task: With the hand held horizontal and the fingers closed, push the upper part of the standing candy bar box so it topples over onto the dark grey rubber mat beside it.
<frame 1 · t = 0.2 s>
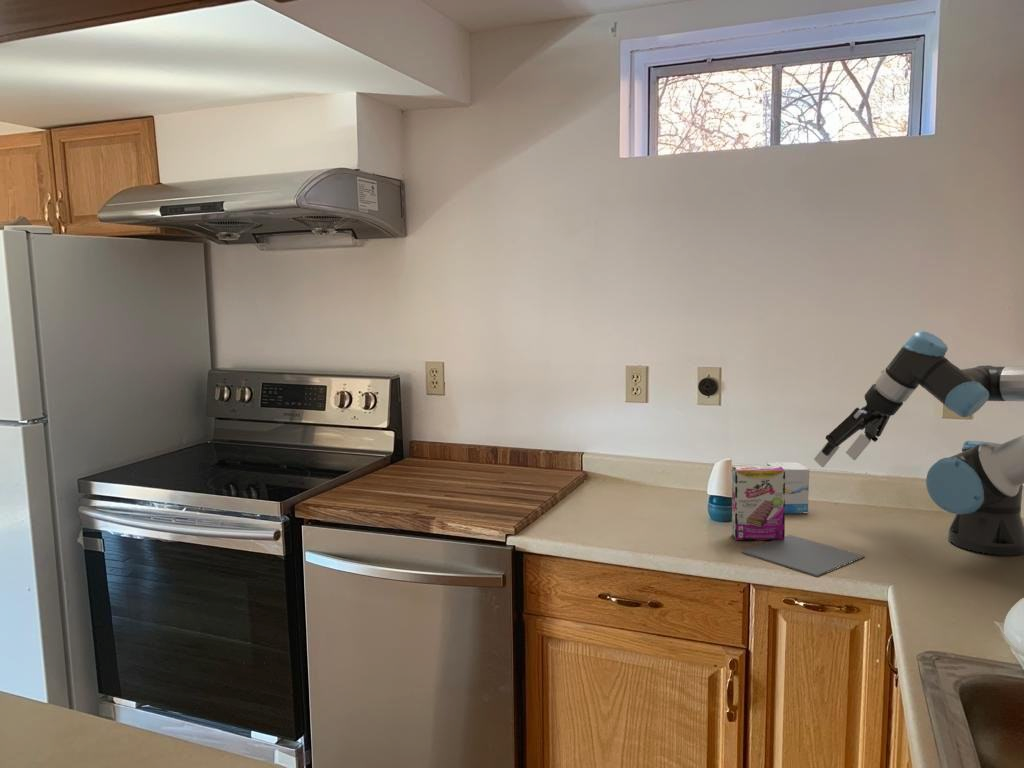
hand: (834, 459, 185), 16 cm above the countertop, tool tilted 35°, fingers open, 13 cm apart
candy bar box: (758, 538, 178), on the countertop, touching mat
mat: (802, 555, 167), on the countertop
ink box: (786, 509, 201), on the countertop
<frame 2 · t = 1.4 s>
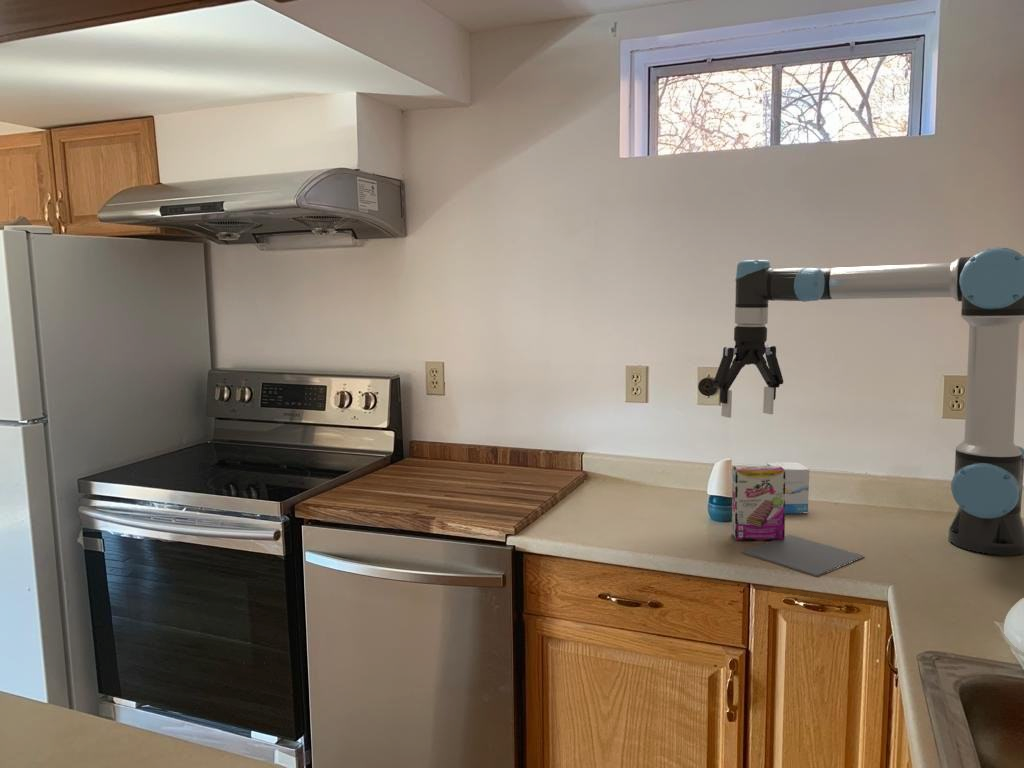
hand: (747, 415, 187), 27 cm above the countertop, tool pointing down, fingers open, 12 cm apart
nothing on the countertop moved.
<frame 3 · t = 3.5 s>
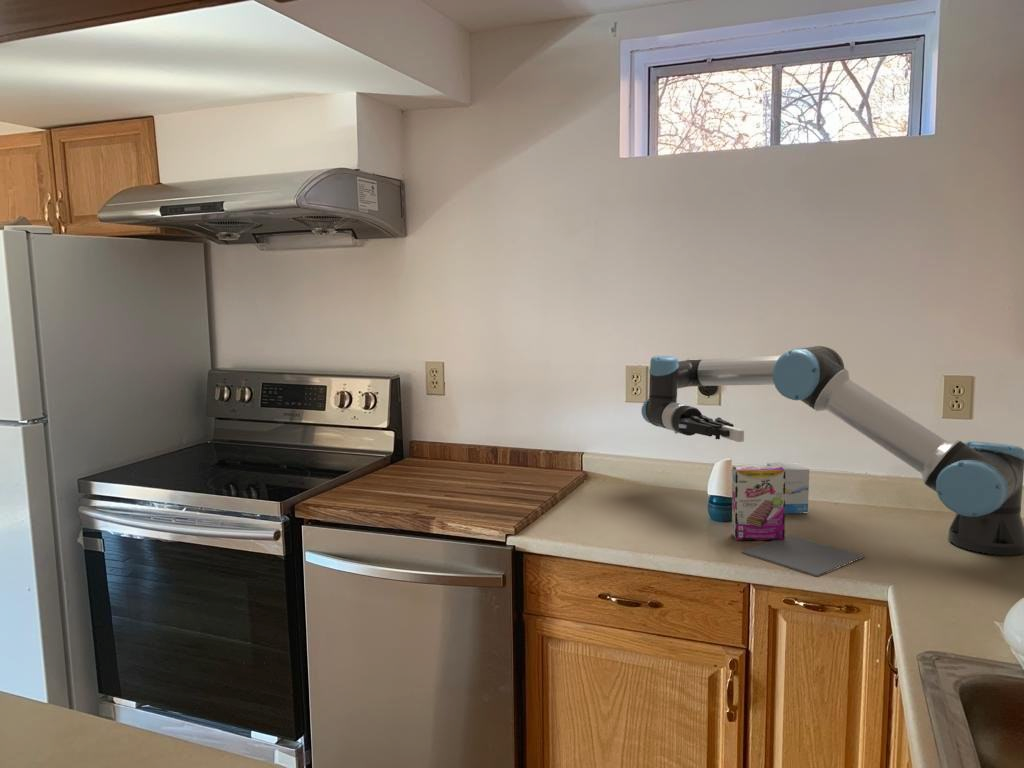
hand: (741, 436, 182), 23 cm above the countertop, tool horizontal, fingers closed
nothing on the countertop moved.
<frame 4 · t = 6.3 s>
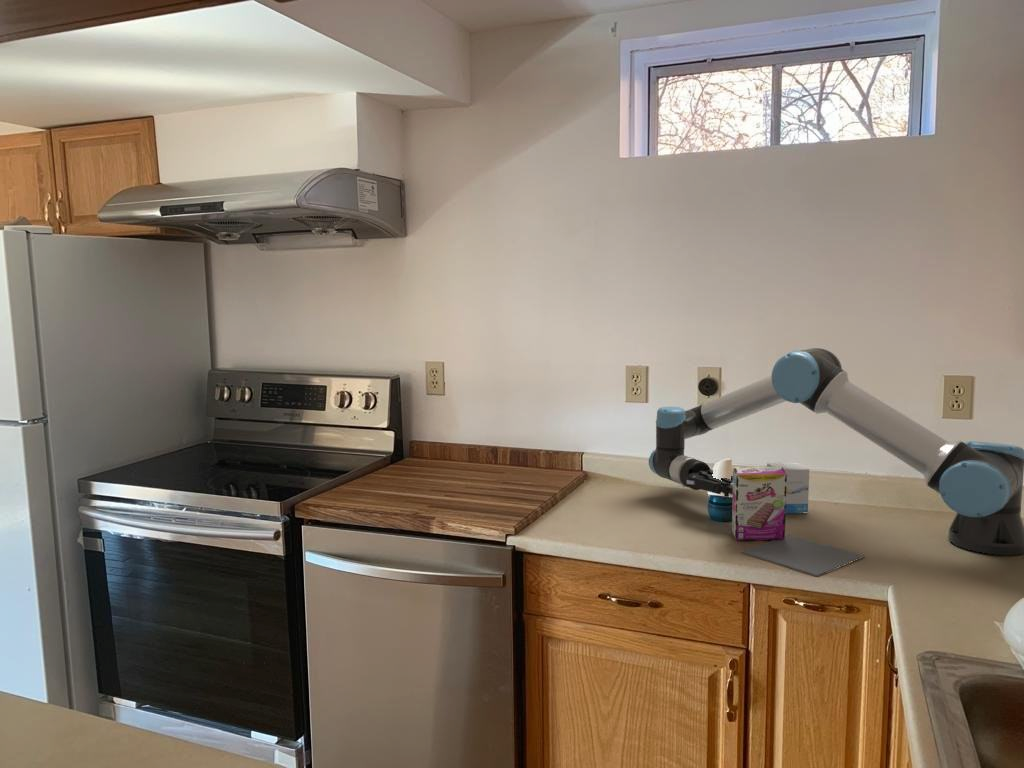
hand: (750, 494, 179), 10 cm above the countertop, tool horizontal, fingers closed
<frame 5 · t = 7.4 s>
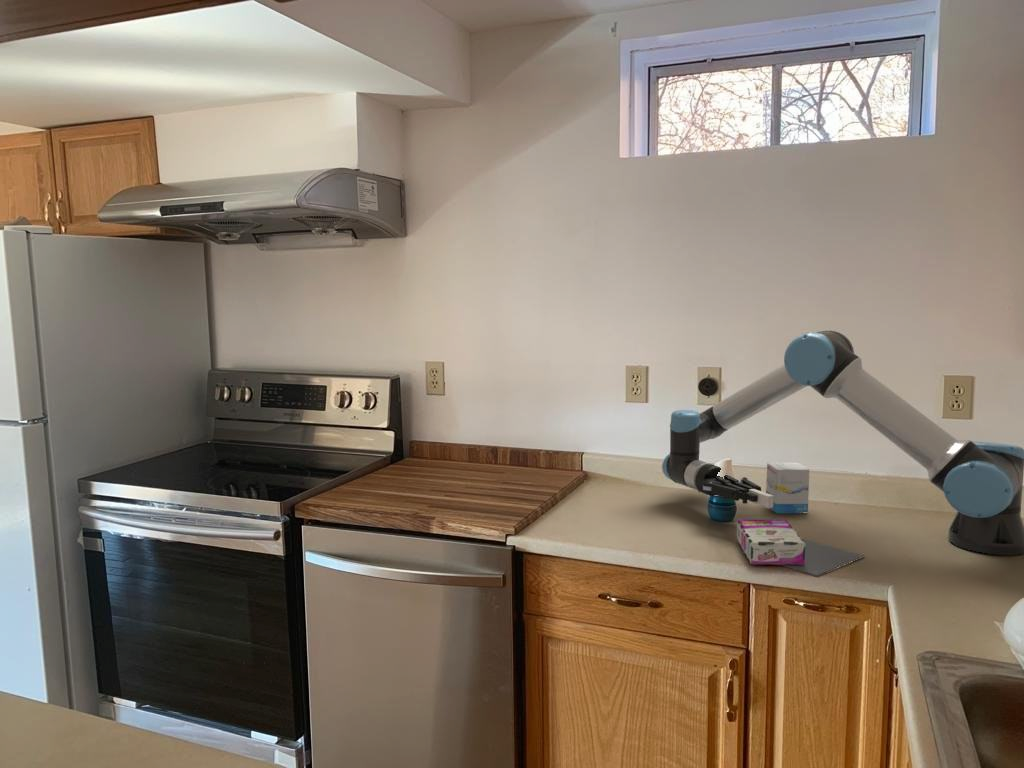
hand: (770, 501, 173), 10 cm above the countertop, tool horizontal, fingers closed
candy bar box: (761, 529, 175), point 3 cm above the countertop, touching mat
everything else where it was.
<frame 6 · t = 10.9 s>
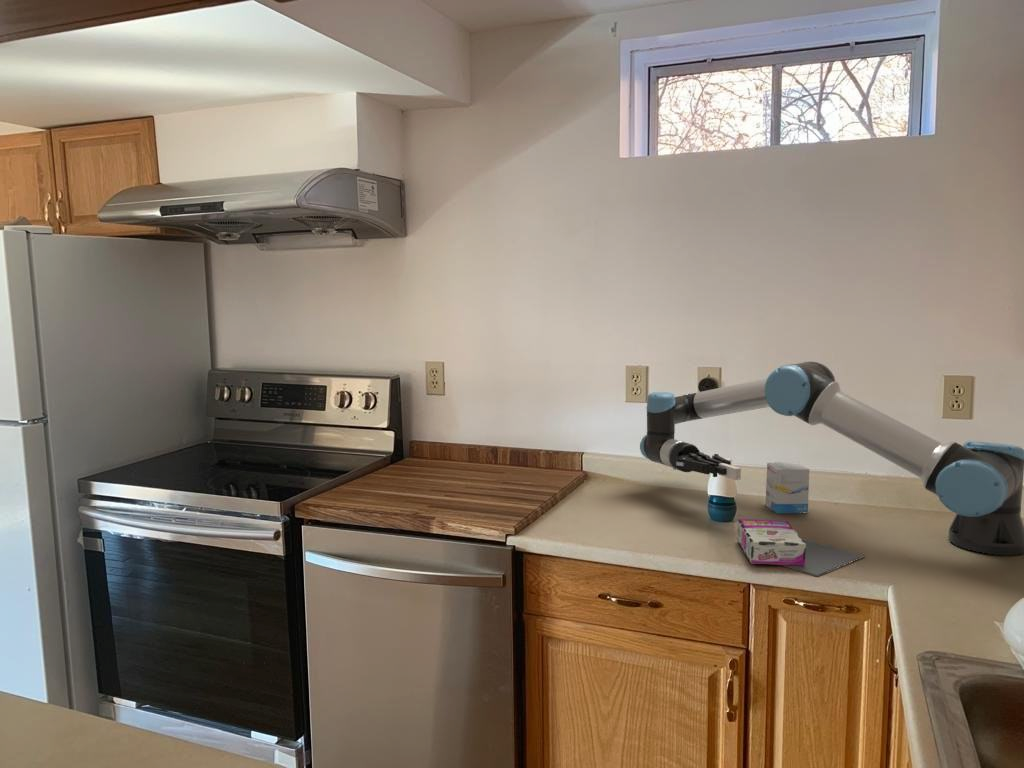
hand: (738, 474, 183), 13 cm above the countertop, tool horizontal, fingers closed
nothing on the countertop moved.
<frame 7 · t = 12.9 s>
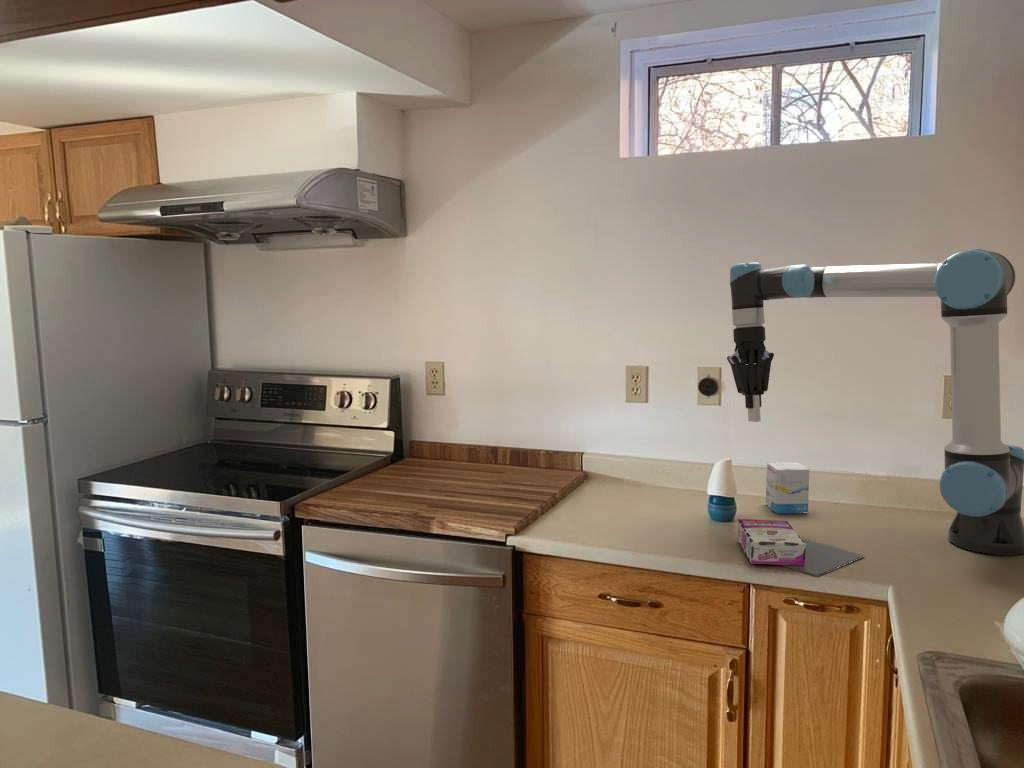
hand: (754, 421, 192), 24 cm above the countertop, tool pointing down, fingers closed
nothing on the countertop moved.
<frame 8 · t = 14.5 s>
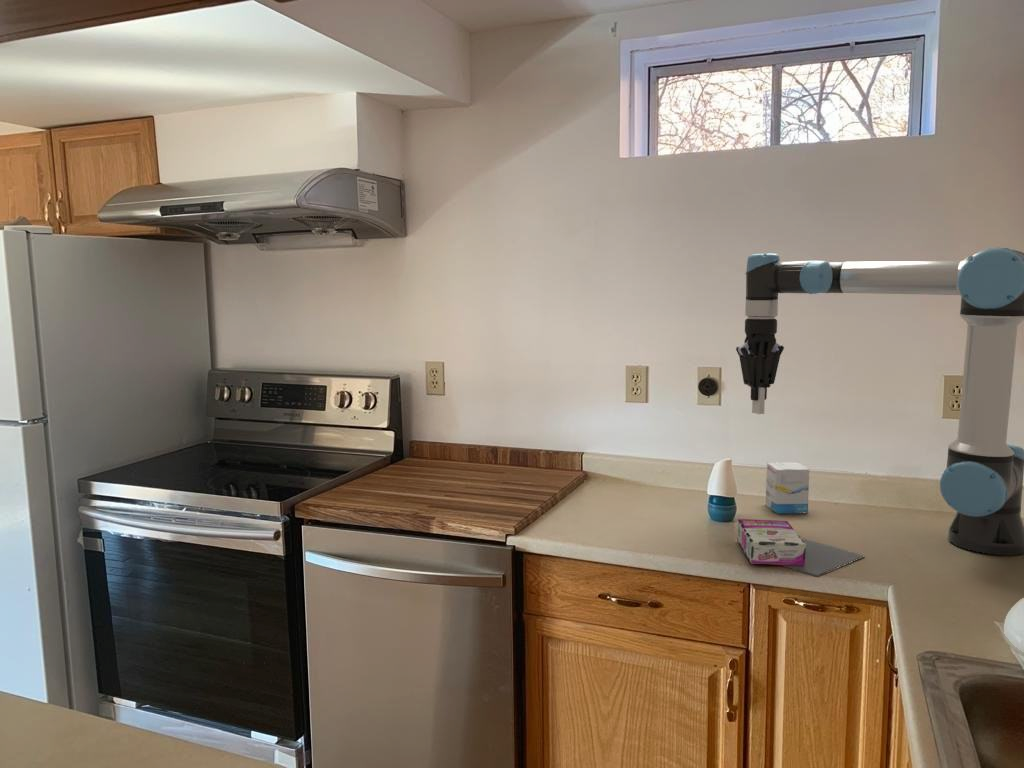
hand: (758, 413, 192), 26 cm above the countertop, tool pointing down, fingers closed
nothing on the countertop moved.
at the end: candy bar box tilted 89°; candy bar box inside the target area (7.3 cm from its centre), point 2.8 cm above the countertop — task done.
